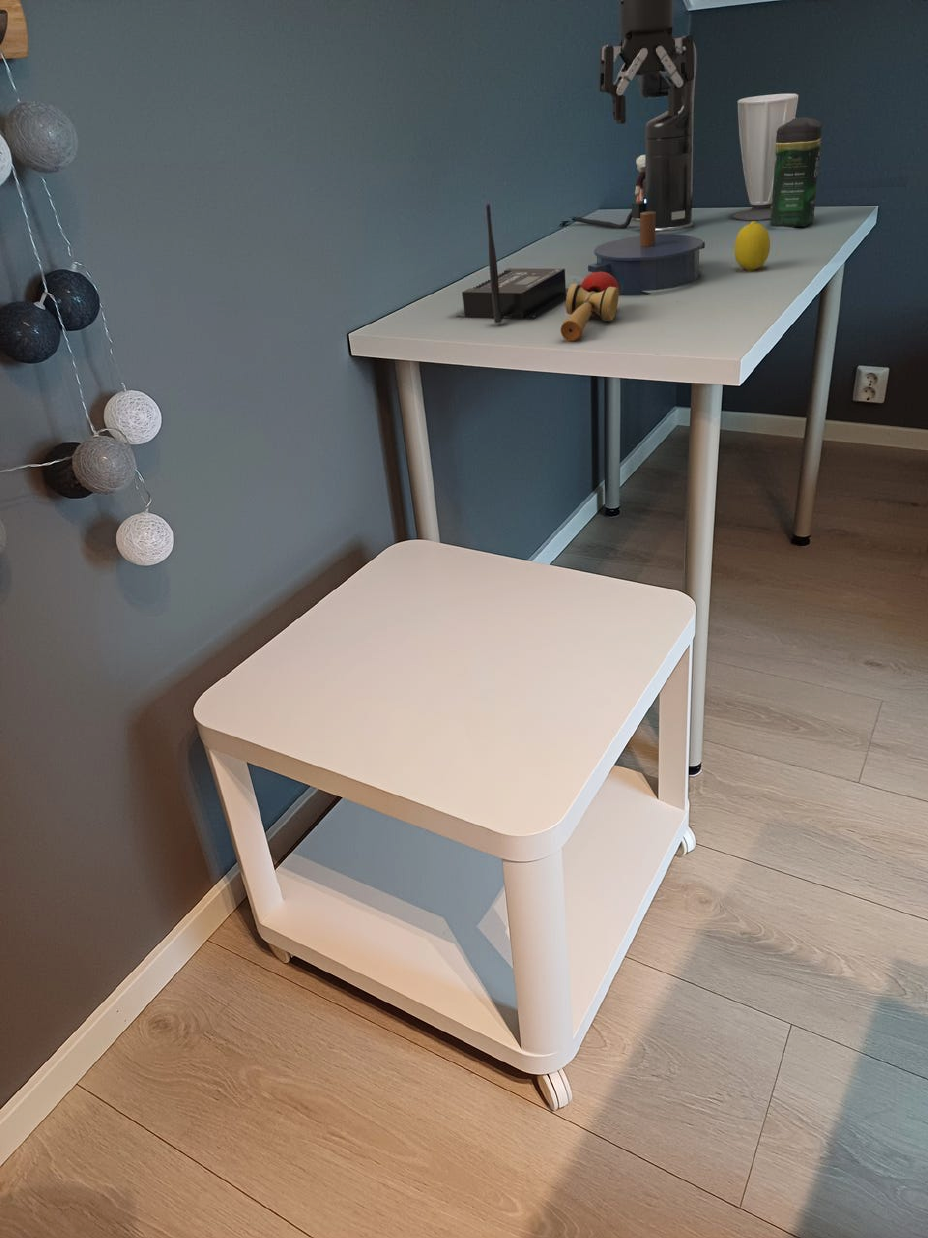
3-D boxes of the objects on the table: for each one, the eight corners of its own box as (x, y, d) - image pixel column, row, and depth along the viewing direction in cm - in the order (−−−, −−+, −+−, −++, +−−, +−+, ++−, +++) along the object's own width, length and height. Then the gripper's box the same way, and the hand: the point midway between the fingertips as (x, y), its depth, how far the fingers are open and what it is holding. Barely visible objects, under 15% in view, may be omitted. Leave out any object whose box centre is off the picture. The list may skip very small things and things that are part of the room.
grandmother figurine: (640, 215, 210) (640, 152, 203) (657, 214, 208) (657, 151, 202) (629, 222, 204) (629, 158, 198) (647, 221, 203) (646, 156, 196)
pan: (565, 287, 159) (563, 255, 157) (669, 263, 167) (669, 231, 164) (622, 303, 147) (622, 268, 144) (732, 276, 154) (733, 241, 151)
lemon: (728, 271, 157) (730, 220, 153) (761, 267, 157) (764, 216, 153) (739, 278, 152) (742, 225, 148) (773, 274, 152) (776, 221, 148)
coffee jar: (809, 228, 179) (819, 119, 169) (766, 229, 182) (773, 122, 173) (816, 218, 186) (826, 113, 177) (775, 220, 190) (782, 116, 180)
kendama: (604, 350, 131) (633, 298, 144) (593, 306, 128) (624, 257, 140) (552, 359, 135) (585, 308, 147) (540, 317, 131) (575, 268, 144)
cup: (759, 222, 189) (765, 100, 178) (720, 217, 198) (724, 100, 187) (802, 212, 193) (811, 92, 182) (763, 207, 202) (769, 93, 191)
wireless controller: (501, 291, 162) (492, 183, 153) (575, 292, 156) (570, 179, 147) (442, 323, 148) (428, 206, 139) (522, 326, 141) (513, 203, 132)
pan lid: (574, 255, 158) (572, 217, 155) (658, 237, 164) (658, 199, 161) (636, 269, 145) (636, 227, 141) (725, 248, 151) (727, 207, 147)
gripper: (681, -11, 140) (679, 112, 148) (590, 0, 138) (594, 124, 146) (704, -15, 134) (701, 114, 142) (609, -3, 132) (612, 127, 140)
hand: (646, 119), depth 144 cm, fingers open, 8 cm apart
